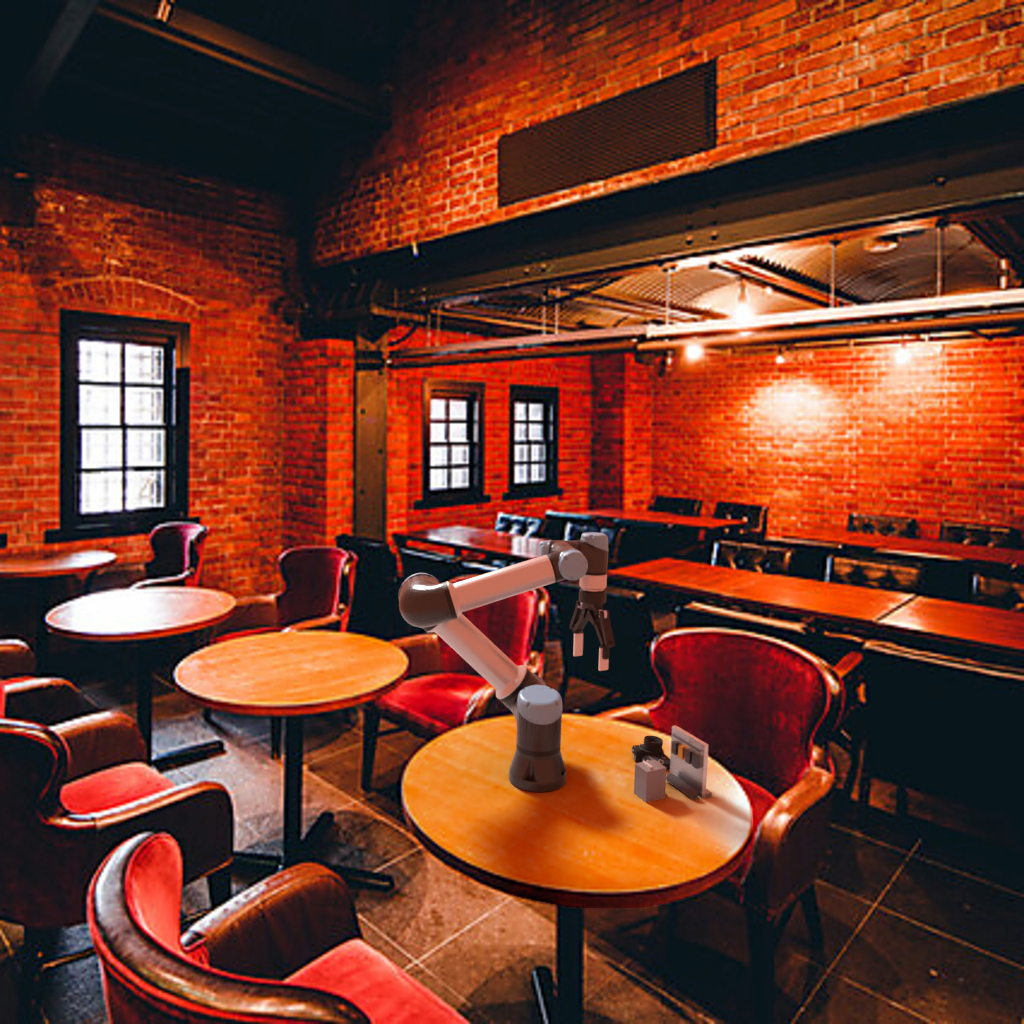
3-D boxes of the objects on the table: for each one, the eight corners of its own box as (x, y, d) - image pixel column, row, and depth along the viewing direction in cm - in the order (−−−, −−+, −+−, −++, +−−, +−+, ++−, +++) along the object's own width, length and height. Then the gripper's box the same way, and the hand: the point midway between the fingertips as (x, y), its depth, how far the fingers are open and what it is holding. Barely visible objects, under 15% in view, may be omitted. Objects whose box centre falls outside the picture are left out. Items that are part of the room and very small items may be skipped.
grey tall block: (645, 802, 182) (646, 769, 181) (633, 793, 186) (635, 761, 185) (668, 797, 185) (669, 764, 184) (656, 788, 189) (657, 756, 188)
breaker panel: (698, 799, 184) (701, 746, 182) (666, 776, 196) (669, 726, 194) (711, 796, 186) (714, 743, 184) (679, 774, 197) (681, 724, 196)
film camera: (679, 752, 198) (644, 743, 198) (671, 779, 198) (636, 769, 198) (666, 735, 212) (634, 726, 211) (659, 759, 212) (626, 750, 211)
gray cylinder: (698, 798, 185) (698, 789, 184) (690, 800, 184) (691, 791, 183) (673, 780, 194) (673, 772, 193) (665, 782, 193) (666, 773, 192)
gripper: (630, 597, 194) (626, 674, 196) (581, 578, 216) (578, 648, 218) (606, 599, 190) (602, 678, 193) (559, 580, 213) (556, 651, 215)
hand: (590, 662), depth 206 cm, fingers open, 13 cm apart
